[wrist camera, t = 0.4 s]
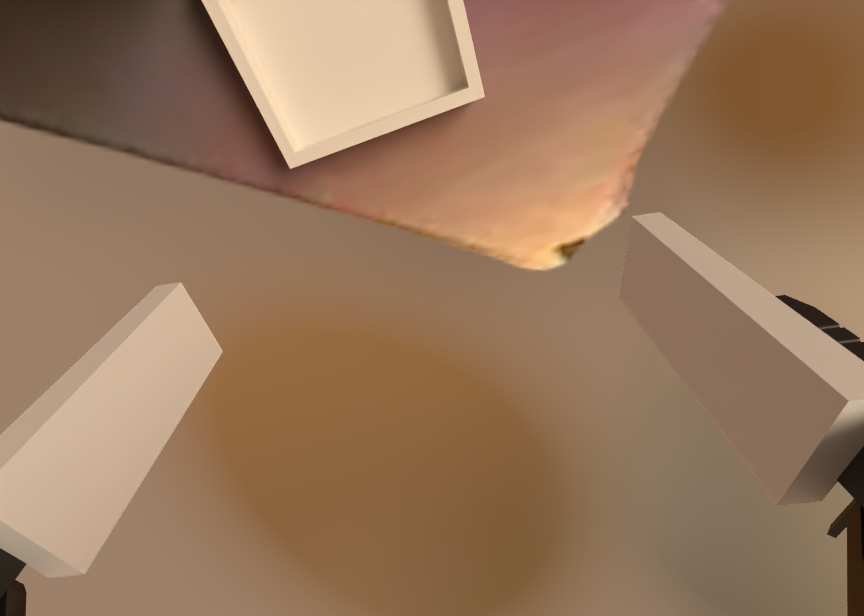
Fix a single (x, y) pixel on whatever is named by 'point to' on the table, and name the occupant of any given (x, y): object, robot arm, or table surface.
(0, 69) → the table surface
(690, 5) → the table surface
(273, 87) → the tray
